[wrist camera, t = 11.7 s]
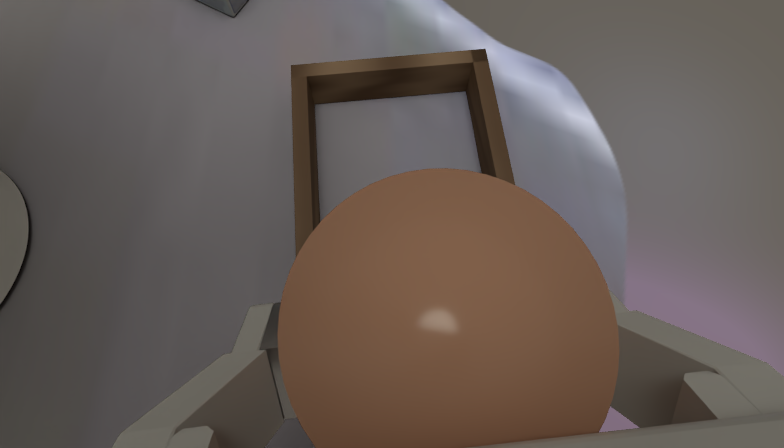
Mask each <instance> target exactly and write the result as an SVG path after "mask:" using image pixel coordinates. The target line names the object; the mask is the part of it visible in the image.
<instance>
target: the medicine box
mask: <svg viewBox="0 0 784 448" xmlns="http://www.w3.org/2000/svg"><path fill="white" fill-rule="evenodd" d="M198 1H200V2H202V3H204V4H206V5H208V6H210V7H212V8H214V9H217V10H219V11H221V12H223V13H225V14H227V15H230V16H232V17H234V16H235V15H236V14H237V12H238V11H239V10H240V9H241V8H242V6H243V5H244V4H245V3H246V1H247V0H198Z"/></svg>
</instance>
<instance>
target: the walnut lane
mask: <svg viewBox="0 0 784 448" xmlns="http://www.w3.org/2000/svg"><path fill="white" fill-rule="evenodd" d="M291 86H292V125H293V163H294V202H295V240H296V257H297V255H298V253H299V251H300V250H301V248H302V246H303V245H304V243H305V242H306V240H307V239H308V237H309V236H310V234H311V233H312V232H313V230H314V229H315V228H316V227H317V226H318V225H319V223H320V211H319V190H318V169H317V148H316V126H315V105H314V104H321V103H333V102H344V101H356V100H367V99H379V98H390V97H402V96H413V95H425V94H436V93H447V92H459V91H466V93H467V99H468V104H469V109H470V114H471V119H472V125H473V130H474V135H475V140H476V145H477V151H478V156H479V161H480V166H481V171H482V174H487V175H490V176H492V177H495V178H498V179H501V180H504V181H507V182H509V183H511V184H513V185H515V182H514V177H513V173H512V168H511V164H510V159H509V154H508V150H507V145H506V141H505V136H504V132H503V127H502V123H501V118H500V113H499V109H498V104H497V100H496V95H495V91H494V86H493V81H492V77H491V72H490V68H489V63H488V59H487V54H486V50H485V49H479V50H467V51H455V52H443V53H431V54H419V55H408V56H396V57H384V58H372V59H360V60H348V61H336V62H325V63H313V64H301V65H291Z"/></svg>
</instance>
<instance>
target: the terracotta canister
mask: <svg viewBox="0 0 784 448" xmlns="http://www.w3.org/2000/svg"><path fill="white" fill-rule="evenodd" d="M277 336H278V352H279V362H280V367H281V372H282V377H283V382H284V385H285V388H286V391H287V394H288V397H289V400H290V403H291V406H292V408H293V410H294V412H295V414H296V416H297V418H298V420H299V422H300V424H301V426H302V428H303V429H304V431H305V432H306V434H307V435H308V437H309V438H310V440H311V441H312V443H313V444H314V446H315V447H316V448H467V447H476V446H485V445H493V444H502V443H511V442H519V441H528V440H537V439H546V438H555V437H564V436H573V435H582V434H591V433H599V430H600V429H601V427H602V425H603V423H604V421H605V419H606V416H607V413H608V410H609V408H610V405H611V402H612V399H613V395H614V391H615V386H616V381H617V376H618V365H619V336H618V325H617V320H616V315H615V310H614V305H613V302H612V299H611V296H610V292H609V289H608V286H607V283H606V281H605V279H604V277H603V275H602V273H601V270H600V268H599V266H598V264H597V262H596V261H595V259H594V257H593V256H592V254H591V253H590V251H589V249H588V248H587V246H586V245H585V243H584V242H583V241H582V240H581V238H580V237H579V236H578V235H577V233H576V232H575V231H574V229H573V228H572V227H571V226H570V225H569V224H568V223H567V222H566V221H565V220H564V219H563V218H562V217H561V216H560V215H559V214H558V213H556V212H555V211H554V210H553V209H551V208H550V207H549V206H548V205H546V204H545V203H544V202H543V201H541V200H540V199H538V198H537V197H535V196H533V195H532V194H530V193H529V192H527V191H525V190H524V189H522V188H519V187H517V186H515V185H513V184H511V183H509V182H507V181H504V180H501V179H498V178H495V177H492V176H490V175H487V174H482V173H477V172H473V171H468V170H459V169H448V168H444V169H423V170H416V171H409V172H405V173H401V174H398V175H394V176H390V177H387V178H385V179H382V180H380V181H377V182H375V183H372V184H370V185H369V186H367V187H365V188H363V189H361V190H359V191H358V192H356V193H354V194H353V195H351V196H350V197H348V198H347V199H346V200H344V201H343V202H342V203H340V204H339V205H338V206H336V207H335V208H334V209H333V210H332V211H331V212H330V213H329V214H328V215H327V216H326V217H325V218H324V219H323V220H322V221H321V222H320V223H319V225H318V226H317V227H316V228H315V229H314V230H313V232H312V233H311V234H310V236H309V237H308V239H307V240H306V242H305V243H304V245H303V246H302V248H301V250H300V251H299V253H298V255H297V257H296V259H295V261H294V263H293V266H292V268H291V270H290V272H289V275H288V278H287V281H286V284H285V287H284V290H283V295H282V300H281V305H280V310H279V320H278V335H277Z"/></svg>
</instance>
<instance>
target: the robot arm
mask: <svg viewBox="0 0 784 448" xmlns="http://www.w3.org/2000/svg"><path fill="white" fill-rule="evenodd" d="M27 241H28V215H27V209H26V206H25V202H24V200H23V197H22V195H21V193H20V191H19V190H18V188H17V186H16V185H15V184H14V182H13V181H12V180H11V179H10V178H9V177H8V176H7V175H6V174H5V173H3V172H2V171H1V170H0V304H1V302H2V301H3V300H4V298H5V297H6V295H7V293H8V292H9V290H10V288H11V287H12V285H13V283H14V281H15V279H16V277H17V275H18V273H19V270H20V268H21V265H22V262H23V259H24V256H25V252H26V247H27ZM609 292H610V296H611V299H612V302H613V305H614V310H615V315H616V320H617V325H618V336H619V365H618V376H617V381H616V386H615V391H614V395H613V399H612V402H611V405H610V406H611V407H612V408H614V409H615V410H617V411H618V412H619V413H621V414H622V415H623V416H625V417H626V418H627V419H629V420H630V421H632V422H633V423H634V424H636V425H637V426H638V427H640V428H635V429H626V430H617V431H608V432H600V433H591V434H582V435H573V436H564V437H555V438H546V439H537V440H528V441H519V442H511V443H502V444H493V445H485V446H476V447H467V448H784V377H783V376H782V375H781V374H780V373H778V372H777V371H776V370H775V369H774V368H772V367H771V366H770V365H769V364H767V363H766V362H763V361H761V360H758V359H756V358H753V357H751V356H749V355H746V354H744V353H741V352H738V351H736V350H733V349H731V348H729V347H726V346H723V345H721V344H719V343H716V342H714V341H711V340H709V339H706V338H704V337H701V336H699V335H696V334H694V333H691V332H689V331H686V330H684V329H681V328H679V327H676V326H674V325H671V324H669V323H666V322H664V321H661V320H659V319H657V318H654V317H652V316H649V315H647V314H644V313H642V312H639V311H629V310H628V309H627V308H626V307H625V306H624V305H623V304H622V303H621V302H620V301H619V300H618V299H617V298H616V297H615V295H614V294H613V293H612V292H611V291H610V290H609ZM280 305H281V302H279V303H267V304H258V305H253V306H251V307H250V308H249V309H248V312H247V315H246V317H245V320H244V322H243V325H242V327H241V330H240V332H239V335H238V337H237V340H236V342H235V345H234V347H233V350H232V352H231V353H229V354H224V355H222V356H221V357H220V358H218V359H217V360H216V361H214V362H213V363H212V364H210V365H209V366H208V367H207V368H205V369H204V370H203V371H201V372H200V373H199V374H197V375H196V376H195V377H193V378H192V379H191V380H190V381H188V382H187V383H186V384H184V385H183V386H182V387H180V388H179V389H178V390H176V391H175V392H174V393H173V394H171V395H170V396H169V397H167V398H166V399H165V400H163V401H162V402H161V403H159V404H158V405H157V406H156V407H154V408H153V409H152V410H150V411H149V412H148V413H146V414H145V415H144V416H142V417H141V418H140V419H138V420H137V421H136V422H135V423H133V424H132V425H131V426H129V427H128V428H127V429H125V430H124V431H123V432H121V433H120V435H119V437H118V438H117V440H116V442H115V443H114V445H113V447H112V448H264V447H265V446H266V445H267V443H268V442H269V441H270V440H271V438H272V437H273V436H274V434H275V433H276V432H277V430H278V429H279V428H280V426H281V425H282V424H283V423H284V419H292V418H297V416H296V414H295V412H294V410H293V408H292V406H291V403H290V400H289V397H288V394H287V391H286V388H285V385H284V382H283V377H282V372H281V367H280V362H279V352H278V336H277V335H278V320H279V310H280Z"/></svg>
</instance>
